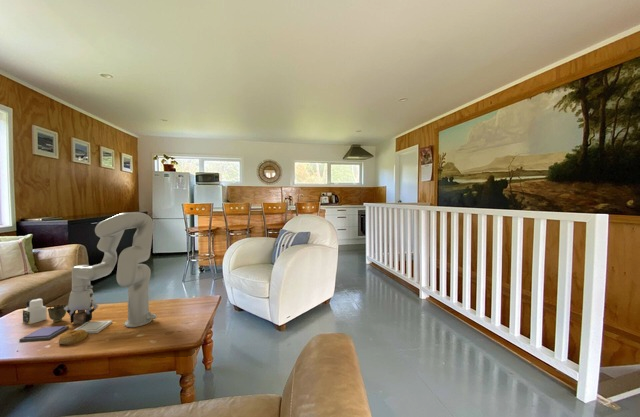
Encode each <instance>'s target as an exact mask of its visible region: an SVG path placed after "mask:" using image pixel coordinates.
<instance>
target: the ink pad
mask: <svg viewBox="0 0 640 417" xmlns="http://www.w3.org/2000/svg"><path fill="white" fill-rule="evenodd" d="M68 329H69V325H62V326H61V325H60V326H46V327H45V326H44V327H39V328H38V329H36V330H34V331H32V332H31V333H28V334H27V335H25V336H23V337H21V338H20V339H19V342H20V343H21V342H23V343H24V342H37V341H38V342H39V341H50V340H51V339H53V338H55V337H57V336H58V335H60V334H63V332H65V331H67V330H68Z"/></svg>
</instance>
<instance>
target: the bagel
mask: <svg viewBox="0 0 640 417" xmlns="http://www.w3.org/2000/svg"><path fill="white" fill-rule="evenodd" d="M88 335H89V334H88V333H87V332H86V331H85V330H83V329H81V330H75V329H73V330H70V331H67V332H66V333H61V335H60V336H59V339H58V344H60V345H74V344H78V343H80V342H82V341H83V340H85V339H86V338H87V337H88Z"/></svg>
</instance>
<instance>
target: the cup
mask: <svg viewBox="0 0 640 417" xmlns="http://www.w3.org/2000/svg"><path fill="white" fill-rule="evenodd" d="M66 306H67V305H66V304H64V305H63V304H62V305H59V304H58V305H54V306H53V307H49V308H48V307H47V314H48V318H49V319H50V320H51V321H52V323H56V324H57V323H60V322H62V321H63V318H64V317H65V316H66V315H67V311H66V310H65V309H64V307H66Z"/></svg>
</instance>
